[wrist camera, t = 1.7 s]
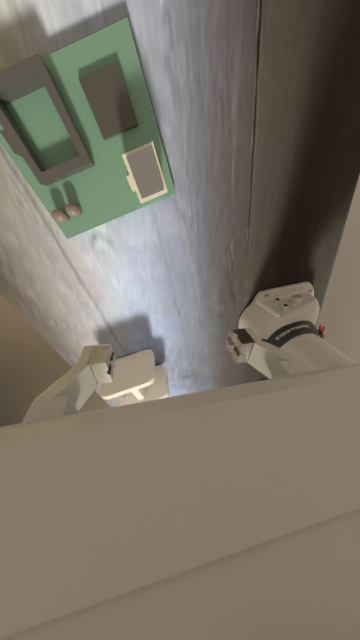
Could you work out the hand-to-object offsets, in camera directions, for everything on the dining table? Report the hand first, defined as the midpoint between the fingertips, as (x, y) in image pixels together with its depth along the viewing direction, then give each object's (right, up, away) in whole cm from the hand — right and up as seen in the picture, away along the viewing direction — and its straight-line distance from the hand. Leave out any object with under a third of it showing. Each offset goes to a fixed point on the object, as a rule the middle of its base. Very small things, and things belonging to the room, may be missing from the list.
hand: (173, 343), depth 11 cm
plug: (-5, +24, +14) cm, 28 cm away
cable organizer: (-13, -12, +40) cm, 44 cm away
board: (-12, +26, +13) cm, 31 cm away
